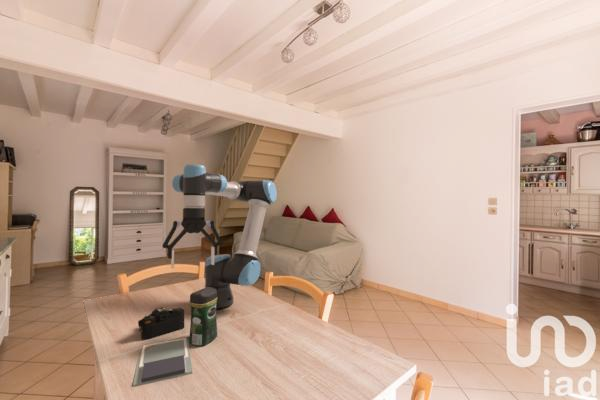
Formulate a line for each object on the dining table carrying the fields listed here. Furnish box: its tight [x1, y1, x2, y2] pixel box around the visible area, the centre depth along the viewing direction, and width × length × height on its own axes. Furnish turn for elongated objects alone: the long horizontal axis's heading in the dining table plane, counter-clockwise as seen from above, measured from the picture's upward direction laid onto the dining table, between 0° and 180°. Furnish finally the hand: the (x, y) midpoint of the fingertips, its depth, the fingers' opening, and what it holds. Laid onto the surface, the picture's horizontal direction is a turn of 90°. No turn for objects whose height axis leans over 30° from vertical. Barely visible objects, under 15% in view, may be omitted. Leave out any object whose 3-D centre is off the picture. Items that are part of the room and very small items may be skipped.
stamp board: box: [132, 337, 193, 387], centre depth 88 cm, size 15×22×1 cm
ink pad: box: [140, 355, 187, 383], centre depth 82 cm, size 12×8×1 cm
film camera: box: [137, 306, 185, 341], centre depth 106 cm, size 18×12×10 cm
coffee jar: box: [188, 287, 218, 347], centre depth 101 cm, size 10×8×19 cm
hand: (193, 265), depth 101 cm, fingers open, 13 cm apart
